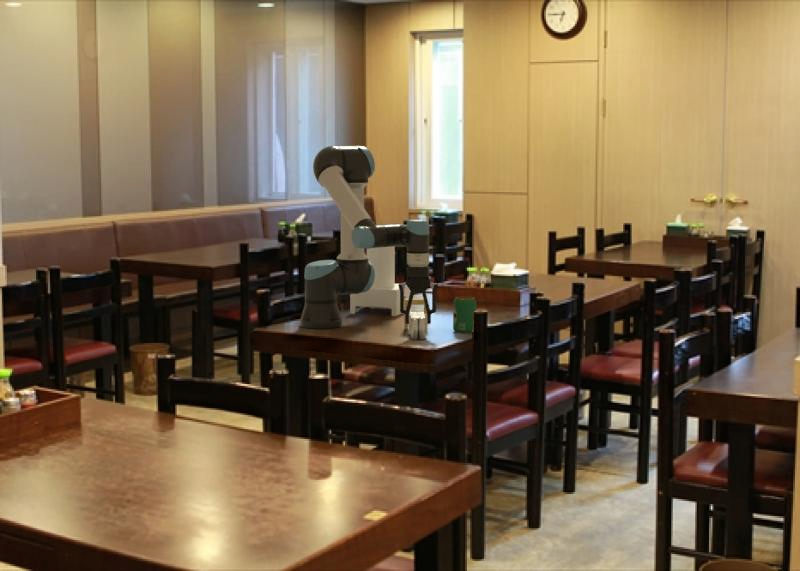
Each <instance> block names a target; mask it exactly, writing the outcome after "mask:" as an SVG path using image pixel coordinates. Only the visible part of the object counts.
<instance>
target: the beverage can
mask: <svg viewBox="0 0 800 571" xmlns="http://www.w3.org/2000/svg"><path fill="white" fill-rule="evenodd" d="M452 304H453V305H452V306H453V309H452V310H453V311H452V316H453V317H452V319H453V321H452V322H453V323H452V328H453V329H452V330H453V331H454V333H456V334H472V330H473V312H474V311H476V312H477V301H476V299H475V297H473V296H456V297H454V300H453V303H452Z"/></svg>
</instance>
